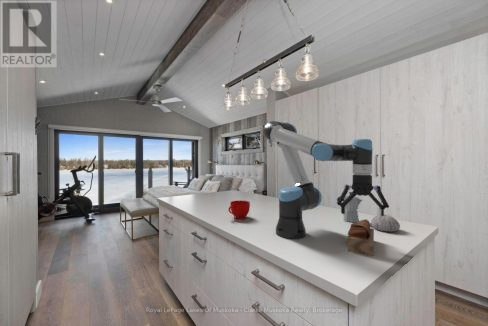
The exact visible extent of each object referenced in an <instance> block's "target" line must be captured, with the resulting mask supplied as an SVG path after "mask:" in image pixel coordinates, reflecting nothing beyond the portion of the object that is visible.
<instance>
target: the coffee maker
mask: <svg viewBox="0 0 488 326" xmlns="http://www.w3.org/2000/svg"><path fill="white" fill-rule="evenodd" d="M348 192H349V195H350V194H351V193H352V192H353V191H348ZM349 195H348V196H349ZM348 196H347V195H346V196H345V198H344V199H343V201H344V200H345V199H346V198H347V197H348ZM339 198H340V196H338V197H337V199H336V201H338V200H339ZM343 201H342V202H343ZM362 202H363V199H360V198H359V197H356V196H355V197H354V198H353V199H352V200H351V201H350V202H349V203H348V204H347V205H346V207H347V222H346V223H351V224H353V223H356V222H358V221H360V220H359V214H358V209H359V205H360V204H361V203H362Z"/></svg>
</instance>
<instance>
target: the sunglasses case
mask: <svg viewBox="0 0 488 326" xmlns="http://www.w3.org/2000/svg"><path fill="white" fill-rule="evenodd" d="M370 228H371V222H370V221H369V220H368V219H361V220H359V221H358V222H356V223H351V224H350V228H349V230H348V232H347V236H353V237H357V238H362V239H368V238H369V237H370Z"/></svg>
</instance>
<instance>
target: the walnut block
mask: <svg viewBox="0 0 488 326" xmlns="http://www.w3.org/2000/svg"><path fill="white" fill-rule="evenodd" d="M374 231H375V228H371V227H370V237H369V238H368V239H362V238H357V237H353V236H349V235H347V252H351V253H356V254H360V255H364V256H365V255H366V256H371V257H374V249H375V248H374V246H375V245H374V240H375V233H374Z"/></svg>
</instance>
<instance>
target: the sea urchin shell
mask: <svg viewBox="0 0 488 326" xmlns="http://www.w3.org/2000/svg"><path fill="white" fill-rule="evenodd" d="M370 226H371V227H372V228H373V229H374V230H377V231H381V232H390V233H391V232H397V231H399V230H400V228H401V224H400V223H399V221H398V220H397V219H396V218H394V217H393V216H391V215H388V214H384V216H381V224H378V223H377V215H375V216H374V217H373V218H372V219H371V221H370Z"/></svg>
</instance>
